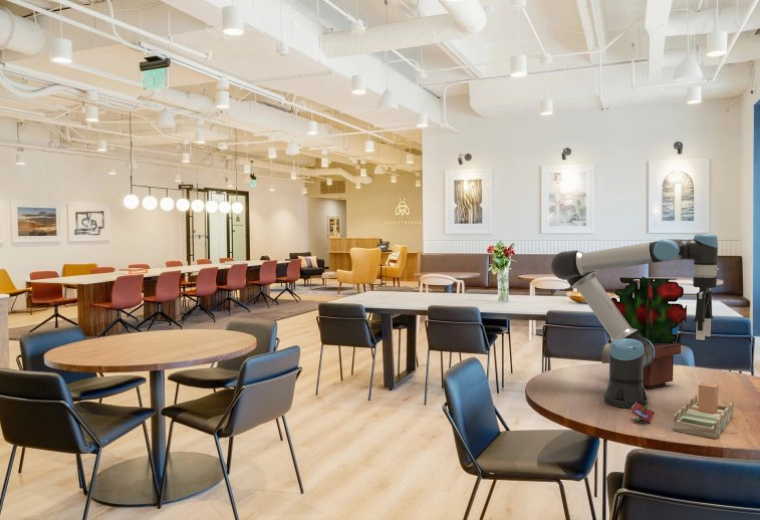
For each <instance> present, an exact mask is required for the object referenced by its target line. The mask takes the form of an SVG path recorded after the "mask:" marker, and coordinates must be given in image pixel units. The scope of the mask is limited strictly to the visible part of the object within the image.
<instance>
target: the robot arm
mask: <svg viewBox="0 0 760 520" xmlns="http://www.w3.org/2000/svg"><path fill="white" fill-rule="evenodd" d="M693 236H694V238H693V239H678V238H677V239H673V238H667V239H665V238H664V239H660V240H655V241H652V242H644V243H639V244H632V245H626V246H619V247H614V248H606V249H601V250H595V251H589V252H588V251H587V252H584V251H581V250H575V249H574V250H569V251H567V250H566V251H561V252H558V253H557V254H555V255H554V256H553V258H552V259H551V263H550V269H551V272H552V274H553V275H554V276H555V277H556V278H557V279H560V280H563V281H566V282H567V283H568V284H569V285H570V288H572V289H575V290H577V291H578V292H579V294H580V295H581V296H582V298H583V300H584V301H585V302H586V304H587V305H588V306H589V308H590V309H591V311H592V312H593V314H594V315H595V316H596V318H597V319H598V321H599V322H600V323H601V325H602V327H603V328H604V329H605V331H606V332H607V334H608V335H609V336H610V338H611V339H612V340H611V341H612V342H611V344H610V343H609V350H608V351H609V352H608V353H609V367H608V368H609V370H608V371H609V378H608V380H609V381H608V383H607V387H606V389H605V391H604V394H603V402H604V403H605V404H607V405H609V406H611V407H614V408H621V409H629V410H631V409H632V406H633V405H634V404H635V403H636V402H637V403H638V404H640V405H642V406H643V405H646V404H648V403H649V401H648V396H647V393H646V389H645V388H644V386H643V368H645V367H647V366H649V365H650V364H651V362H652V361H653V359H654V356H655V349H654V346H653V345H652V343H651V342H650V341H649V340H647V339H646V338H643V336H642V335H641V334H640V332H639V331H638V330H637V329H634V328H631V326H630V325H629V324H628V322H627V321H626V319H625V318H624V317H623V315H622V314H621V312H620V311H619V310H618V308H617V307H616V305H615V304H614V303H613V301H612V300H611V298H612V297H610V296H609V294H608V293H607V292H606V290H605V289H604V287H603V286H602V284H601V283H600V282H599V280H598V279H597V271H598V272H599V271H604V270H613V269H620V268H625V267H626V268H627V267H633V266H640V265H647V264H653V263H661V262H671V261H675V260H678V261H679V260H681V261H682V260H687V261H690V260H691V261H693V272H692V275H693V279H692V286H693V287H694V288H699V290H698V292H696V305H695V318H693V321H694V322H696V326H695V327H696V331H695V339H696V340H700V341H705V339H706V338H705V337H709V338H710V337H711V328H712V327H711V325H712V320H713V319H714V316H713V290H711V289H715V288H717V284H718V283H717V281H718V279H717V277H716V276H717V274H718V271H719V270H720V268H719V267H718V255H719V254H718V251H719V250H718V249H719V245H718V244H719V242H718V241H719V240H718V236H717V235H716V234H715V233H714V234H710V233H709V234H706V233H705V234H702V233H701V234H698V233H696V234H694V235H693ZM640 402H641V403H640ZM648 405H649V404H648Z"/></svg>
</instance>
